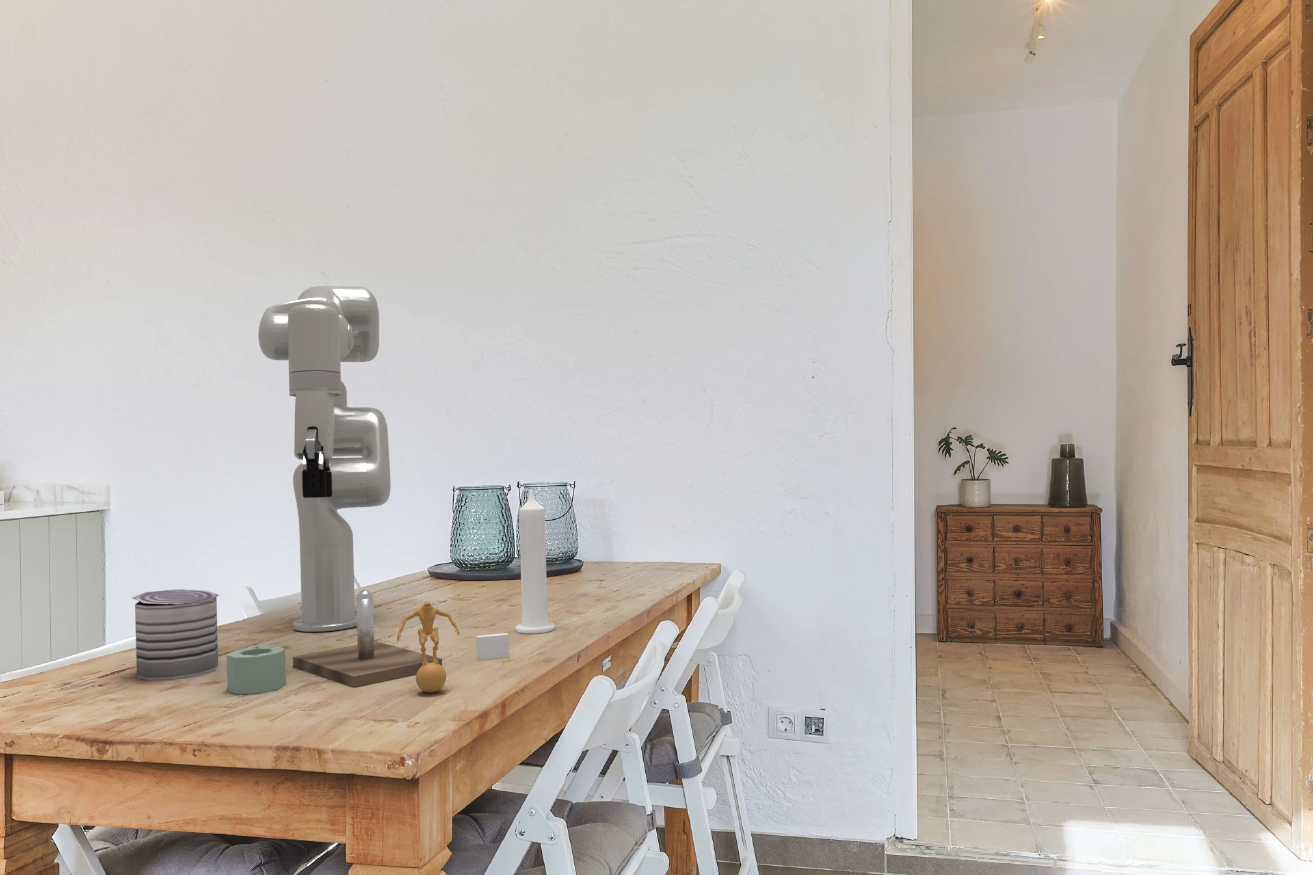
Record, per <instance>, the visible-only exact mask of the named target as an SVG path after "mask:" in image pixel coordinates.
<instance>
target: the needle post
mask: <svg viewBox="0 0 1313 875" xmlns="http://www.w3.org/2000/svg"><path fill="white" fill-rule="evenodd" d="M355 599H356V600H355V601H356V602H355V603H356V615H357V626H356V632H357V633H356V634H357V635H356V636H357V638H356V639H357V645H358V659H371V658H374V642H375V633H374V632H375V630H374V629H375V628H374V624H375V622H374V594H373V593H372V592H371V591H370V590H367V589H362V590H361V591H358V593H357V594H356V598H355Z"/></svg>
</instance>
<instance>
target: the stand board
mask: <svg viewBox="0 0 1313 875" xmlns="http://www.w3.org/2000/svg"><path fill="white" fill-rule="evenodd" d="M426 659H427V662H428V663H430V662H433V655H431V654H426ZM437 661H438V663H439V664H440V665H441V666H442V667H443V658H441V657H438V656H437ZM422 664H423V657H422V652H418V651H414V650H411V649H406V648H403V647H399V646H395V645H392V644H387V643H384V642H380V641H374V658H371V659H358V644H356V645H350V646H344V647H337V648H333V649H326V650H321V651H316V652H310V653H306V654H299V655H294V656H292V667H294V668H297V669H300V670H303V671H306V672H308V673H312V674H315V675H317V676H319V677H324V678H326V679H329V680H331V681H335V682H337V683H341V684H343V685H346V686H349V687H352V688H357V687H358V688H359V687H362V686H366V685H367V686H368V685H371V684H375V683H381V682H386V681H391V680H396V679H400V678H405V677H411V676H414V675H415V676H416V674H417V671H418V670H419V668H420V667H421V666H422Z"/></svg>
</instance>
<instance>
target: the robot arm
mask: <svg viewBox="0 0 1313 875" xmlns="http://www.w3.org/2000/svg"><path fill="white" fill-rule="evenodd" d="M379 311H380V310H379V306H378V301H377V298H376V297H375V295H374V293H373V292H372V291H371V290H370V289H369V288H366V287H363V286H343V285H342V286H341V285H340V286H338V285H335V286H334V285H316V286H311V287H308V288H306V289H305V290H304V291H302V292H301V293H300V295H299V296H298V298H297V299H295V300H293V301H288V302H283V303H278V304H274V305H271V306H269V307H268V308H266V309H265V310H264V312H263V314H262V317H261V319H260V321H259V322H260V323H259V326H258V335H257V336H258V337H257V338H258V344H259V347H260V350H261V352H262V354H263V355H264V356H265V357H266V358H268V359H269V360H272V361H273V360H274V361H288V386H289V387H288V390H289V396H290V397H293V398H294V397H295V401H294V438H293V440H294V448H293V449H294V450H293V451H294V452H293V453H294V457H295V458H296V459H298V460H300V461H302V462H301V463H300V464H299V465H297V467H295V469H294V472H293V476H292V485H293V486H292V487H293V492H294V497H295V502H296V509H297V515H298V527H299V528H298V530H299V560H300V562H299V563H300V564H299V565H300V598H301V599H300V600H301V601H300V603H301V605H300V606H299V607H300V610H301V618H300V619H297V620H294V621H293V623H292V628H293V629H294V630H295V631H298V632H307V633H308V632H309V633H310V632H312V633H314V632H315V633H316V632H330V631H339V630H346V629H351V628H354V627H355V628H357V613H356V606H355V603H356V602H355V601H356V600H355V599H356V598H355V566H354V562H355V560H354V558H355V557H354V535H353V534H354V533H353V530H352V528H351V526H350V524H349V523H348V522H347V521H346V519H345V518H344V517H342V515H340V513H339V512H338V510H341V509H352V508H369V507H370V508H373V507H379V506H383V505H384V504H386V502H388V500H389V498H390V495H391V466H390V447H389V445H390V444H389V431H388V424H387V420H386V418H385V415H384V413H383V412H382V411H381V410H379V409H377V408H375V407H367V406H366V407H363V406H361V407H358V406H357V407H353V406H352V407H349V406H348V400H347V399H348V393H347V392H348V390H347V386H346V385H345V384H344V382H343V381H342V379H341V378H342V374H341V367H342V364H341V363H366V362H370V361H371V362H372V361H373V360H374V359H375V358H377V355H378V353H379V350H380V349H379V348H380V312H379ZM355 456H356V457H355Z"/></svg>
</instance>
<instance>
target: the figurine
mask: <svg viewBox="0 0 1313 875" xmlns="http://www.w3.org/2000/svg"><path fill="white" fill-rule="evenodd" d="M437 615H438V616H442V617H446V618H448V621H449V622H450V623H451V625H452V626H453V628H454V629H455V632H456V635H457V636H460V629H459V627H458V626H457V623H456V622H455V621H454V619H453V618H452V615H451V614H450V613H449V612H446V611H445V610H444V611H443V610H441V609H439V608H438V607H434V606H432V604H431V602H430V601H429V600H426V601H425V602H424V603H423V604H422V605H421V606H420V607H419V608H418V609H416V610H414V611H413V612H411V613H410V614H408V615H406V616H405V617H403V619H402V621H401V625H400V626H399V630H398V632H397V635H396V641H397V642H399V641H401V638H402V637H403V636H402V632H403V630H404V628H405V625H406V623H407V621H409V620H411V619H414V618H416V617H418V619H419V620H420V624H421V627H422V628H419V629H418V630H417V634H418V642H419V644H420V646H421V647H420V653H422V657H423V664H422V666H421V667H420V668H419V670H418V671H417V674H415V682H416V685H417V687H418V688H419V690H421V691H423V692H424V693H428V694H431V693H436V692H439V691H440V690H441V689H442V688H443V687H444V686H445V683H446V681H447V672H446V670H445V668H444V667H443V665H442V666H441V665H440V664H439V663H438V661H437V657H438V656H437V655H438V654H437V651H438V650H439V643H440V641H439V640H440V638H439V628H438V627H437V626H435V627H433V626H434V622H435V619H436V616H437ZM428 636H430V640H431V641H432V642H433V644H434V645H433V647H432V656H433V662H430V663H428V662H427V659H426V655H427V653H426V650H427V649H426V642H427V640H428Z"/></svg>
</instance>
